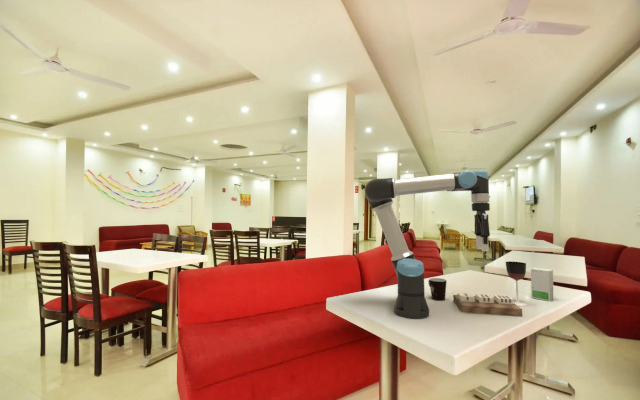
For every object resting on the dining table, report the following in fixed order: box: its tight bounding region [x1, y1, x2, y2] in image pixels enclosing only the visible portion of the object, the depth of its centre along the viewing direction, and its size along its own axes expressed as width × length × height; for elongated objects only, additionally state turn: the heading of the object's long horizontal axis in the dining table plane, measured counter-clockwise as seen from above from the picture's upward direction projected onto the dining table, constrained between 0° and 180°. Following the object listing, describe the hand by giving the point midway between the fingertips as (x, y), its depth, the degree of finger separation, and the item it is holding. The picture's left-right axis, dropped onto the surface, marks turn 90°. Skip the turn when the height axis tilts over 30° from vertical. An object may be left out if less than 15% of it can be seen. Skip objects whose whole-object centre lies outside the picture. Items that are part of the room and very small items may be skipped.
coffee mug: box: [427, 277, 447, 302], centre depth 152 cm, size 12×9×10 cm
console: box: [453, 294, 523, 318], centre depth 135 cm, size 24×18×3 cm
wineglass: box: [505, 260, 528, 307], centre depth 142 cm, size 8×9×20 cm
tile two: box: [475, 293, 494, 303], centre depth 135 cm, size 6×6×3 cm
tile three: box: [493, 294, 514, 305], centre depth 133 cm, size 6×6×3 cm
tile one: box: [457, 292, 475, 302], centre depth 137 cm, size 6×6×3 cm
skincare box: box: [530, 267, 554, 302], centre depth 150 cm, size 8×7×16 cm
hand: (482, 250), depth 136 cm, fingers open, 8 cm apart
